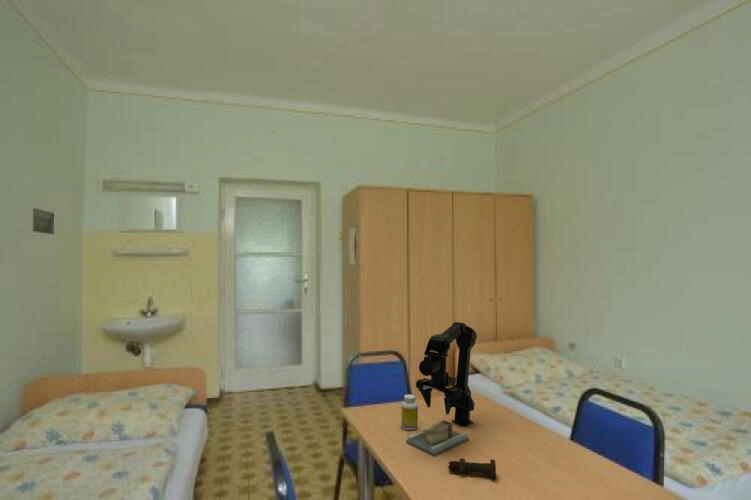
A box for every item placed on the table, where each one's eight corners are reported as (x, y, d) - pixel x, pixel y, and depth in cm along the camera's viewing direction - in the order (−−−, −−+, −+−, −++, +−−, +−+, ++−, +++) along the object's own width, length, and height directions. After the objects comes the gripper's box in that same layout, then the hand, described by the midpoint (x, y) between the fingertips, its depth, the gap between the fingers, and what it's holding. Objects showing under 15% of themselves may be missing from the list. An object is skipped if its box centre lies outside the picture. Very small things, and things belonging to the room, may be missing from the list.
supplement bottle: (418, 431, 172) (418, 399, 172) (401, 430, 172) (402, 399, 172) (416, 424, 178) (417, 393, 178) (401, 423, 179) (401, 393, 179)
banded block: (423, 441, 160) (423, 428, 160) (443, 432, 168) (444, 419, 168) (431, 445, 157) (431, 431, 157) (452, 436, 165) (452, 423, 165)
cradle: (440, 428, 174) (440, 422, 174) (468, 440, 164) (468, 433, 164) (406, 442, 161) (406, 436, 161) (434, 456, 151) (434, 449, 151)
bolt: (449, 475, 142) (495, 480, 138) (448, 475, 137) (496, 479, 134) (449, 456, 144) (494, 460, 141) (448, 455, 140) (495, 459, 137)
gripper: (471, 371, 161) (471, 412, 161) (433, 361, 175) (433, 399, 175) (453, 377, 153) (452, 420, 153) (415, 366, 167) (414, 405, 167)
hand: (438, 410), depth 162 cm, fingers open, 9 cm apart
